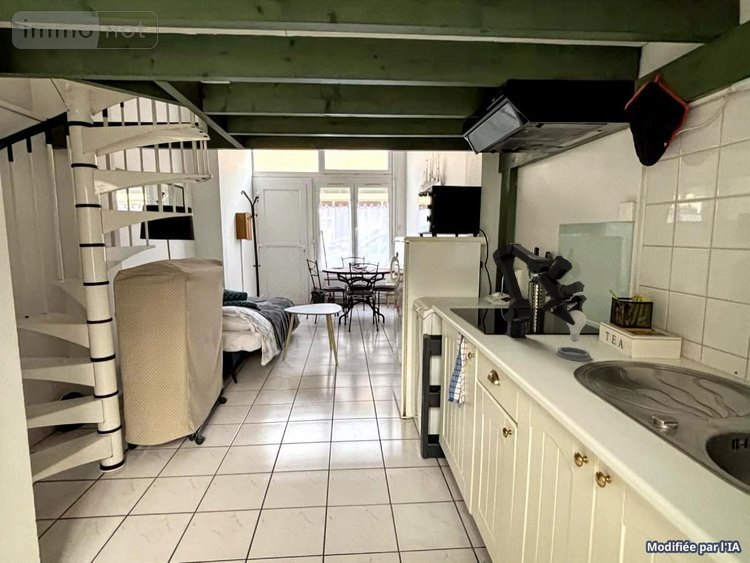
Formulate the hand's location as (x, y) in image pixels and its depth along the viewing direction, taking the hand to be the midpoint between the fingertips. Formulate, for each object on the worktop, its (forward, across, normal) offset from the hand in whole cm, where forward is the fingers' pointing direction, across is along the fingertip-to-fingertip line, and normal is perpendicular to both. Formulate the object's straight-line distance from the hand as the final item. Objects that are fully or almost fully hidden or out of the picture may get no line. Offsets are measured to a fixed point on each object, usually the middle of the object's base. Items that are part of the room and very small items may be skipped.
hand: (579, 323), depth 136 cm
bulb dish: (+8, 0, +9) cm, 12 cm away
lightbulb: (+4, 0, +6) cm, 7 cm away
